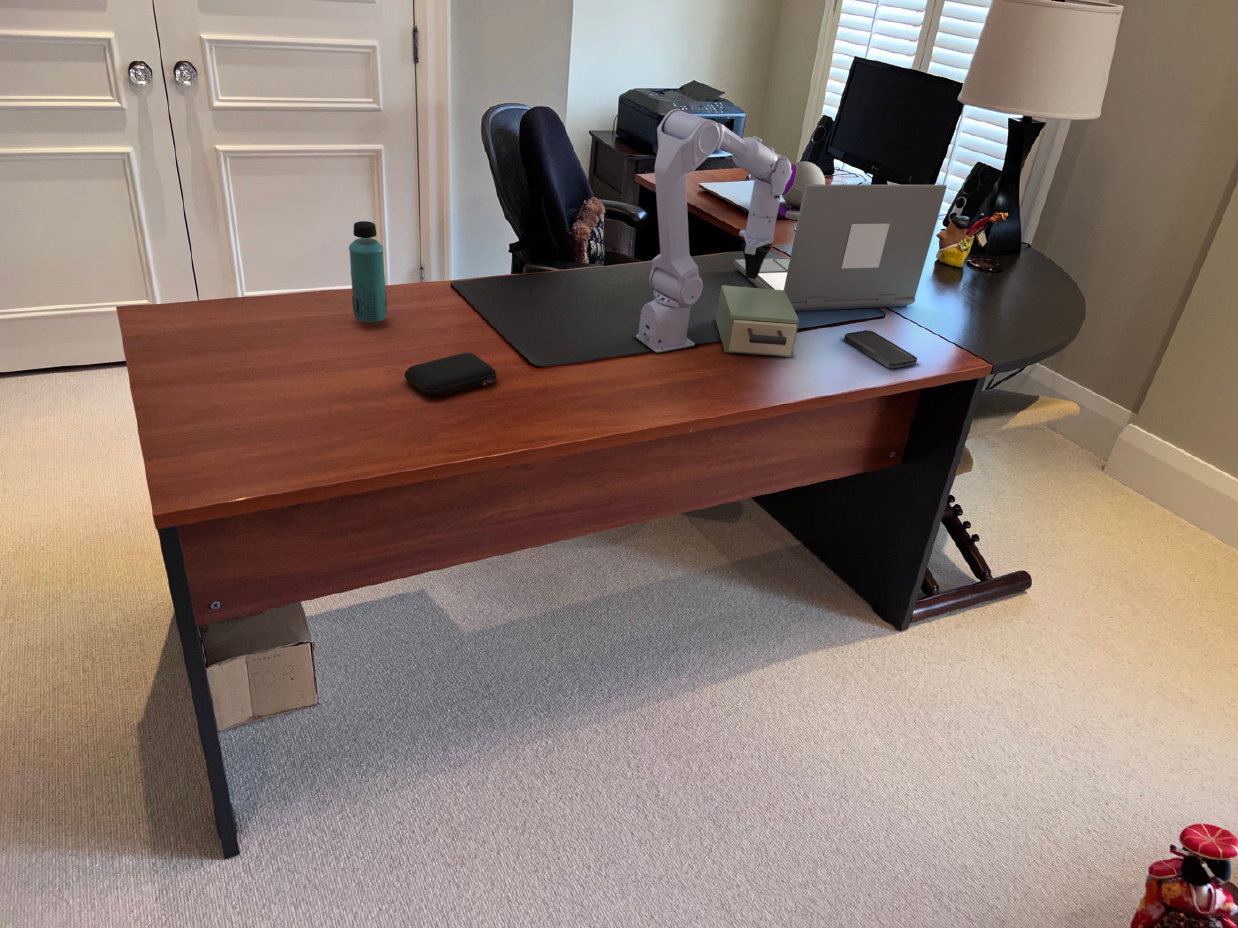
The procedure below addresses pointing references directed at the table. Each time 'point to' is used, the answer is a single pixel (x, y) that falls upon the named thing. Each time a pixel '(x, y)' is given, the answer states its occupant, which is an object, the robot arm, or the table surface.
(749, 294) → the cabinet
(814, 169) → the webcam
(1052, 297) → the table surface
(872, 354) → the phone
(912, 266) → the laptop
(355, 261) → the beverage bottle
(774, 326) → the drawer
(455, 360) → the carrying case
